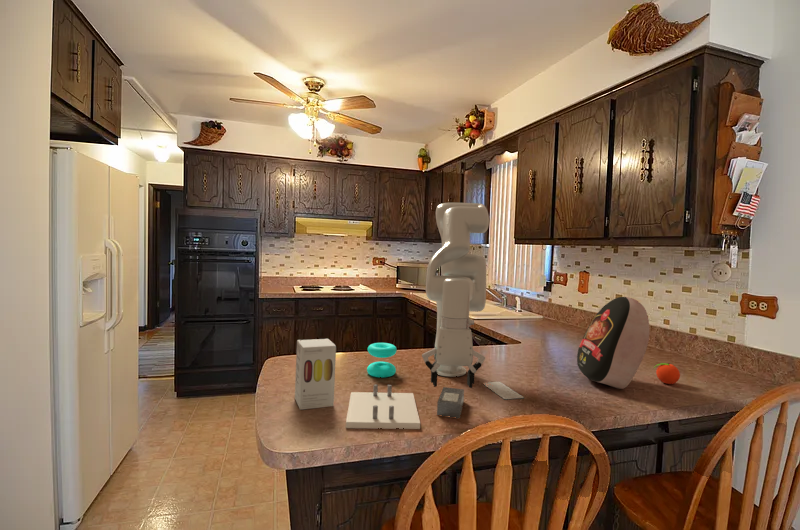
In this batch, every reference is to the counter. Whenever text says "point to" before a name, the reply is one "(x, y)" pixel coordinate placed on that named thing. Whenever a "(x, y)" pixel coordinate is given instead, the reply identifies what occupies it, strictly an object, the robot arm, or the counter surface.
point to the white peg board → (382, 410)
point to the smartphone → (503, 391)
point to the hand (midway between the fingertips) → (452, 385)
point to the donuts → (381, 367)
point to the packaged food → (615, 343)
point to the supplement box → (315, 373)
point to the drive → (450, 402)
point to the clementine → (667, 373)
